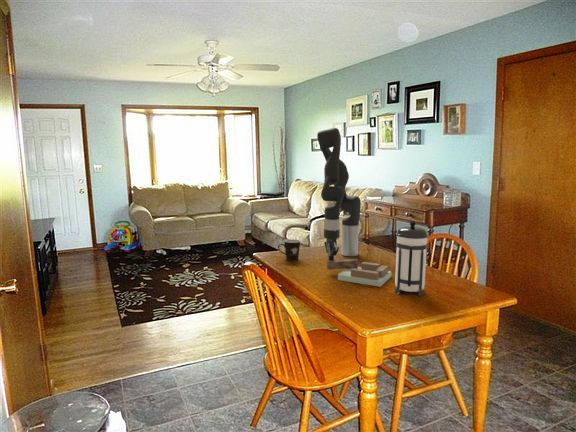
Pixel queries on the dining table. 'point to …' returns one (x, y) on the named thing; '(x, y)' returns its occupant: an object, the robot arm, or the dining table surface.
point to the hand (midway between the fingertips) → (331, 263)
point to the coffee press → (411, 259)
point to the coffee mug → (291, 249)
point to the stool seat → (366, 274)
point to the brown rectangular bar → (342, 264)
